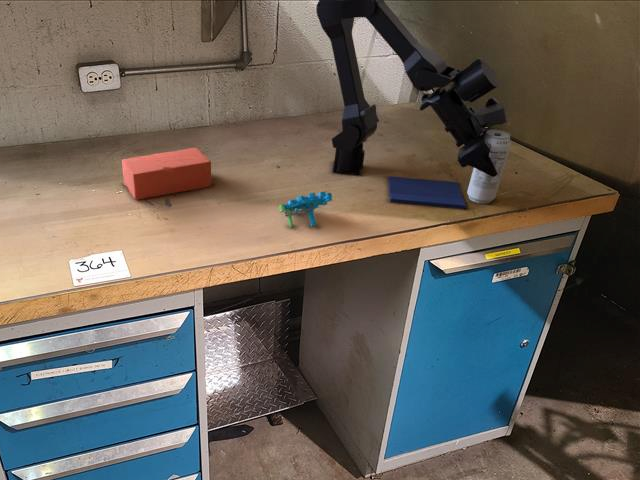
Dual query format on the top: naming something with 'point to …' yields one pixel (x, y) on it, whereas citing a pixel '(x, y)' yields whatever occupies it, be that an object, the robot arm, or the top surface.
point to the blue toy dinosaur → (305, 206)
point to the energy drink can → (486, 185)
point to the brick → (166, 173)
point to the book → (426, 192)
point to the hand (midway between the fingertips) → (495, 169)
